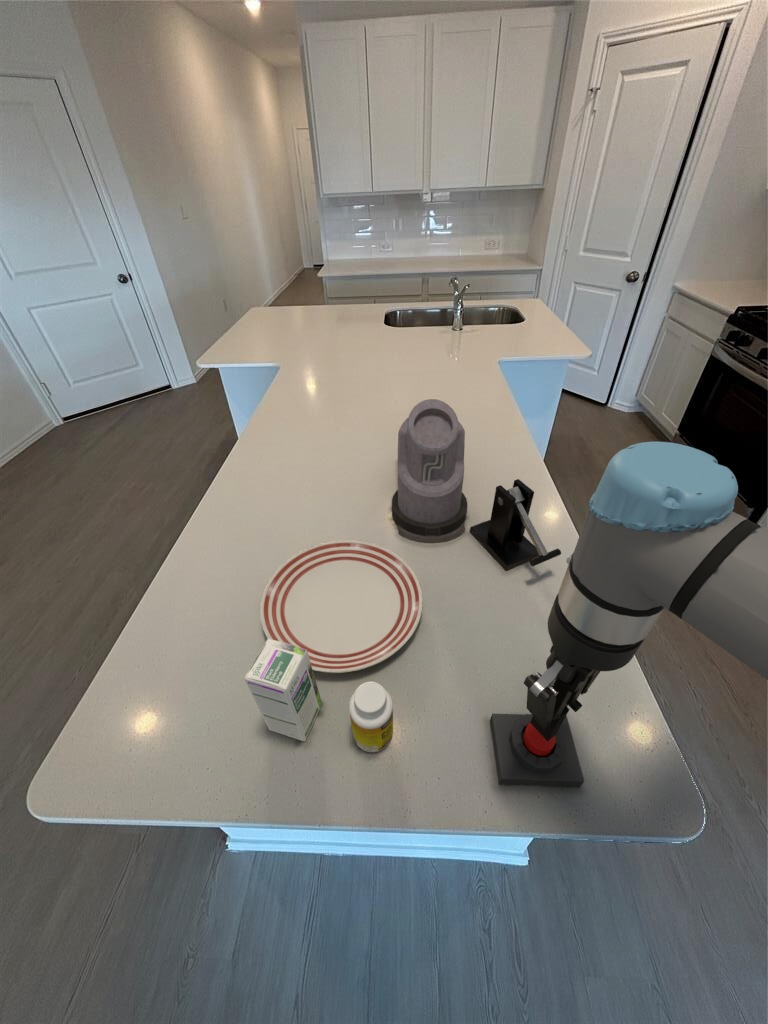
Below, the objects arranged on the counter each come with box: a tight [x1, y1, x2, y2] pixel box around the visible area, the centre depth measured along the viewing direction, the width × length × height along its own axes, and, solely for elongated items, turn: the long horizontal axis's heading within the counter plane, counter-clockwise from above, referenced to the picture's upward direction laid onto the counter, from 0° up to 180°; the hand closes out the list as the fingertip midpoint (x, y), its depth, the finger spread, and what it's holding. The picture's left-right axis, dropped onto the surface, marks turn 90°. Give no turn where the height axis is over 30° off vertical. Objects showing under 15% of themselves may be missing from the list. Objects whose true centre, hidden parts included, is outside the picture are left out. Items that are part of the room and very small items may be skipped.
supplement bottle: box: [348, 681, 394, 753], centre depth 57 cm, size 6×6×10 cm
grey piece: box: [391, 398, 468, 544], centre depth 91 cm, size 30×16×24 cm, turn 0°
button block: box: [489, 713, 585, 789], centre depth 57 cm, size 10×8×4 cm
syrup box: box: [243, 638, 323, 743], centre depth 58 cm, size 6×6×14 cm
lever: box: [506, 486, 562, 567], centre depth 78 cm, size 14×6×2 cm
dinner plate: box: [259, 539, 424, 674], centre depth 75 cm, size 28×27×3 cm
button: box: [523, 723, 556, 756], centre depth 55 cm, size 4×4×2 cm
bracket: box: [469, 478, 540, 572], centre depth 83 cm, size 12×8×14 cm, turn 26°
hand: (542, 728), depth 53 cm, fingers closed
